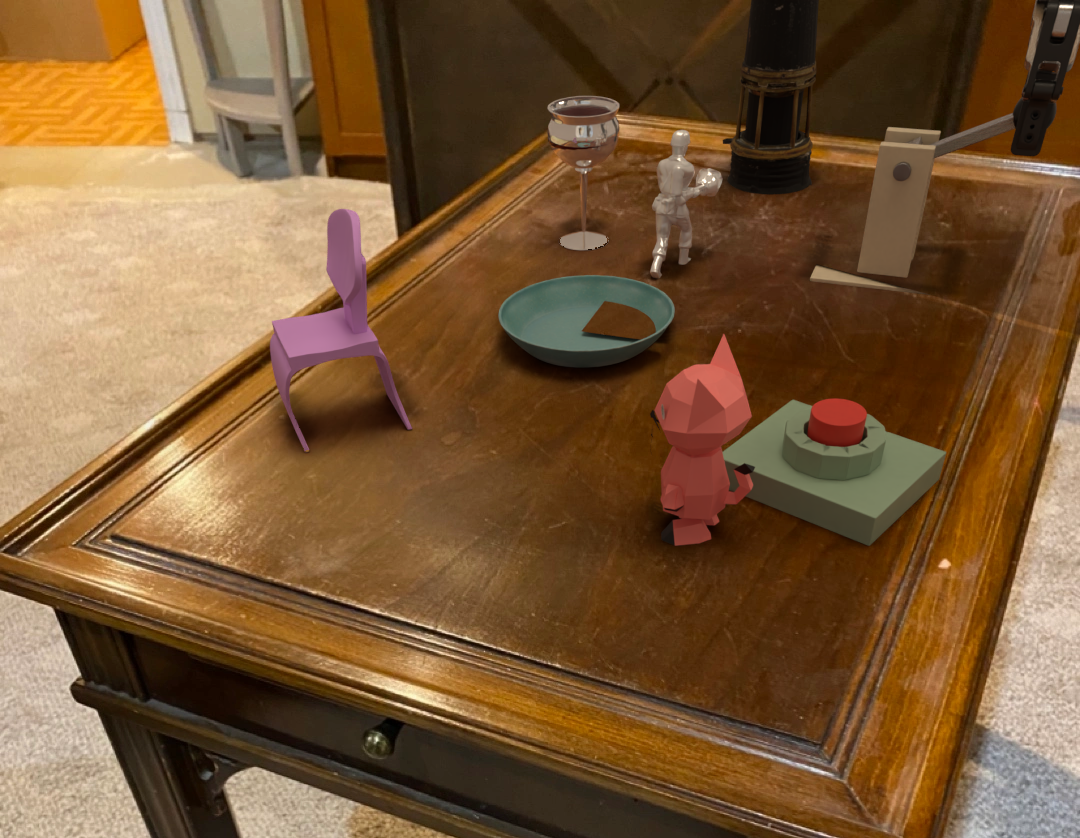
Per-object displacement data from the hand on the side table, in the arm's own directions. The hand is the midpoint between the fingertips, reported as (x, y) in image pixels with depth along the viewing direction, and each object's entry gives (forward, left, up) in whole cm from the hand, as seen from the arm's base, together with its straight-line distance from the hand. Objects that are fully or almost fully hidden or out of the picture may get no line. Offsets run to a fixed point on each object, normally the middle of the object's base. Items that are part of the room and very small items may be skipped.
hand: (1026, 138), depth 85 cm
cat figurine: (-1, +46, -13) cm, 48 cm away
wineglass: (+36, +12, -13) cm, 40 cm away
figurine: (+24, +13, -13) cm, 30 cm away
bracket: (+8, +3, -12) cm, 15 cm away
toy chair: (+28, +51, -13) cm, 60 cm away
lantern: (+29, -11, -13) cm, 34 cm away
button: (-5, +36, -9) cm, 37 cm away
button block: (-5, +36, -12) cm, 38 cm away
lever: (+3, +1, -2) cm, 4 cm away
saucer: (+22, +29, -13) cm, 39 cm away
